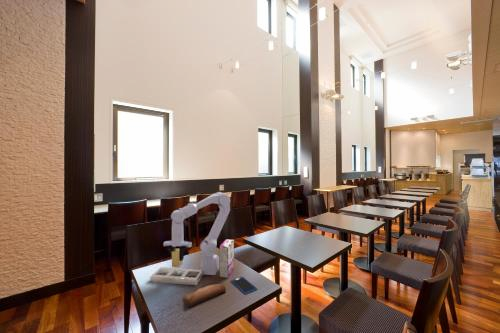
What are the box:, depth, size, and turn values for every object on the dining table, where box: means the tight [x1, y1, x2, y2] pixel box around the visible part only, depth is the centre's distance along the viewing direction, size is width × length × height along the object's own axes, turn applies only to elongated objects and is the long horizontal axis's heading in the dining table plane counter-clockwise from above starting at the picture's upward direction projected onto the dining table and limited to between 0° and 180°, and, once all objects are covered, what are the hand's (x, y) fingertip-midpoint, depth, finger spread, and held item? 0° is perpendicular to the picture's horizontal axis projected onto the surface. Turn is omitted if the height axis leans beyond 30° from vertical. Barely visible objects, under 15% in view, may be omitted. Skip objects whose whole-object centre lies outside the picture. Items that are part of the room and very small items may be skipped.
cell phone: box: [230, 276, 258, 295], centre depth 104 cm, size 7×14×1 cm, turn 34°
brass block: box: [171, 248, 184, 268], centre depth 110 cm, size 4×4×8 cm
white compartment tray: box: [149, 266, 204, 286], centre depth 110 cm, size 24×10×2 cm, turn 83°
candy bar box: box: [219, 239, 235, 279], centre depth 116 cm, size 11×5×16 cm, turn 168°
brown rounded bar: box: [182, 283, 227, 308], centre depth 95 cm, size 18×7×7 cm
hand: (177, 260), depth 110 cm, fingers closed on brass block, 4 cm apart
